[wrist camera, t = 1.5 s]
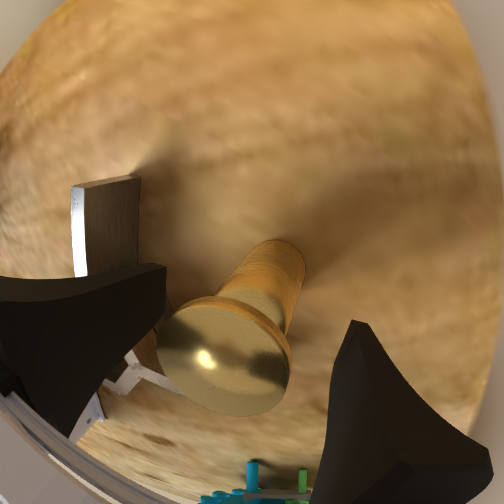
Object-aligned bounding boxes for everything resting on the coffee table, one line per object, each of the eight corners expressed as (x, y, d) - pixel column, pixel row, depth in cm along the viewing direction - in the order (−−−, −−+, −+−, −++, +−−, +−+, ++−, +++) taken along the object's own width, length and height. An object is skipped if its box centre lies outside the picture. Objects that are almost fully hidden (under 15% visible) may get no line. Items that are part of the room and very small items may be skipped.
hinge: (251, 394, 18) (230, 443, 14) (98, 330, 21) (62, 359, 17) (295, 207, 14) (275, 230, 10) (90, 169, 17) (36, 179, 12)
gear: (215, 494, 24) (179, 525, 15) (215, 449, 27) (177, 467, 18) (318, 498, 22) (319, 537, 13) (319, 451, 25) (323, 476, 16)
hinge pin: (304, 311, 15) (270, 429, 8) (233, 291, 16) (158, 389, 9) (323, 241, 14) (304, 337, 7) (244, 222, 15) (155, 290, 8)
